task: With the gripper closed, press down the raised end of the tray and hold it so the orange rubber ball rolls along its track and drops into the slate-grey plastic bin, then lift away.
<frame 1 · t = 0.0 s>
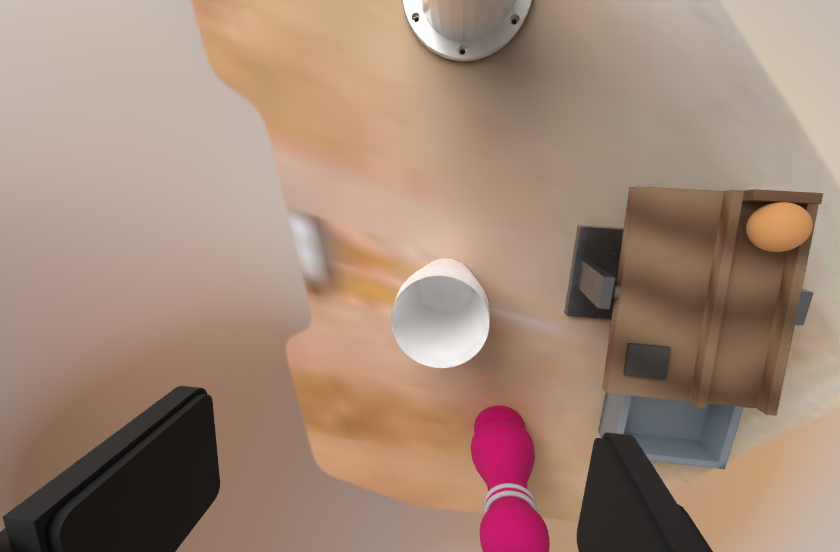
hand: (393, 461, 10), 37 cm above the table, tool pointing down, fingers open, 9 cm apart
tray: (706, 301, 35), point 9 cm above the table, hinge at -7.0°, touching ball
cup: (446, 285, 47), on the table
ball: (777, 227, 32), point 10 cm above the table, tilted 14°, touching tray
pepper mill: (499, 426, 51), on the table
stand: (657, 276, 44), on the table
bin: (660, 389, 47), on the table
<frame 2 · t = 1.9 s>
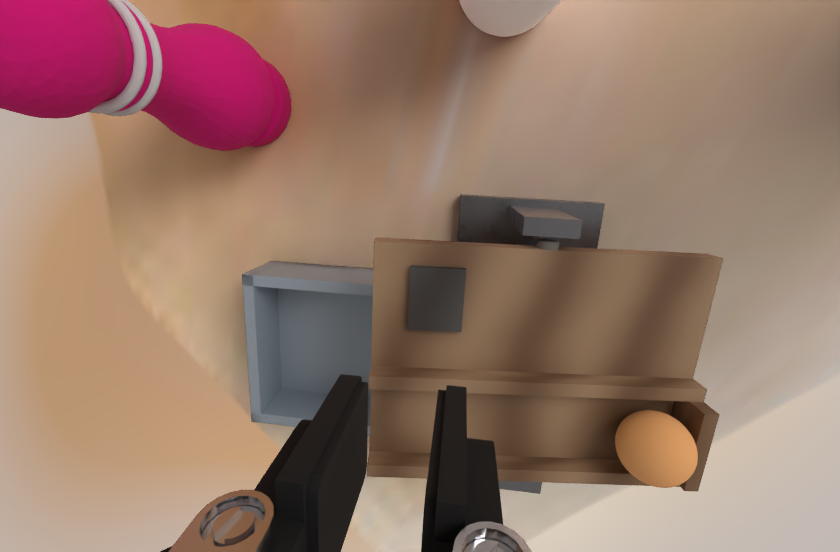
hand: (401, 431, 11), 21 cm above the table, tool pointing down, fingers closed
tray: (537, 372, 23), point 9 cm above the table, hinge at -7.0°, touching ball
ball: (654, 447, 22), point 10 cm above the table, tilted 14°, touching tray
pepper mill: (253, 103, 30), on the table
stand: (515, 316, 32), on the table
bin: (348, 335, 34), on the table
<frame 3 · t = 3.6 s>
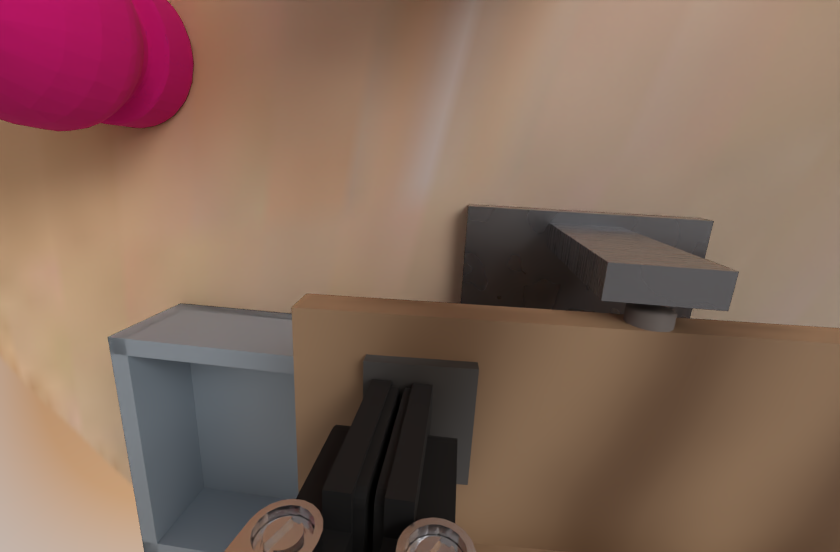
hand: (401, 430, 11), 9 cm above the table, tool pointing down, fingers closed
pepper mill: (136, 58, 19), on the table
stand: (552, 393, 20), on the table
bin: (299, 414, 22), on the table
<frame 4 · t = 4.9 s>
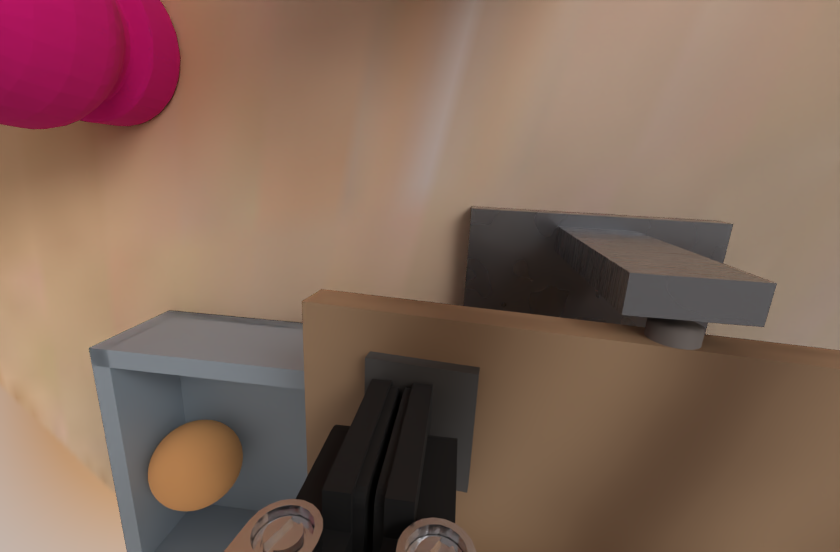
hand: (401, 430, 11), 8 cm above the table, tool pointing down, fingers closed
ball: (197, 463, 19), point 3 cm above the table, tilted 30°, touching bin
pepper mill: (119, 52, 18), on the table
stand: (560, 404, 19), on the table
bin: (294, 425, 21), on the table
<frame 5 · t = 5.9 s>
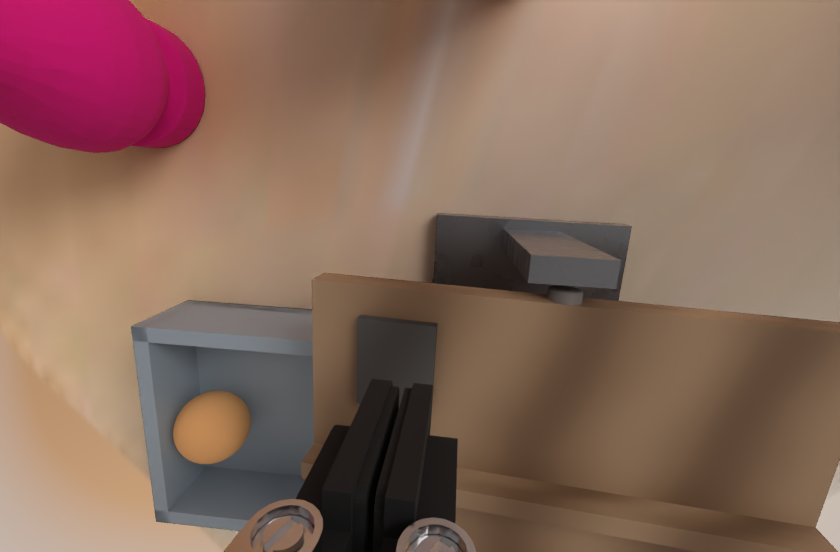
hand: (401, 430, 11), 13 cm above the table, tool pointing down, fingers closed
tray: (543, 486, 15), point 9 cm above the table, hinge at 5.6°
ball: (213, 426, 23), point 3 cm above the table, tilted 29°, touching bin
pepper mill: (154, 89, 22), on the table
stand: (511, 372, 24), on the table
bin: (293, 397, 25), on the table
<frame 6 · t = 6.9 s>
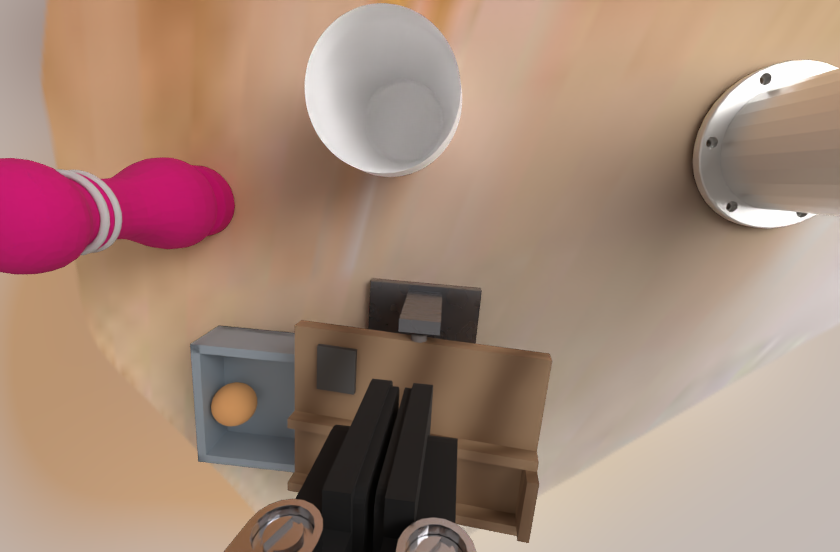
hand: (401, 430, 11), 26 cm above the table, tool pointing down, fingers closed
tray: (409, 431, 30), point 9 cm above the table, hinge at 5.6°
cup: (404, 122, 34), on the table
ball: (234, 403, 38), point 3 cm above the table, tilted 30°, touching bin
pepper mill: (203, 201, 36), on the table
stand: (418, 373, 39), on the table
bin: (284, 387, 40), on the table
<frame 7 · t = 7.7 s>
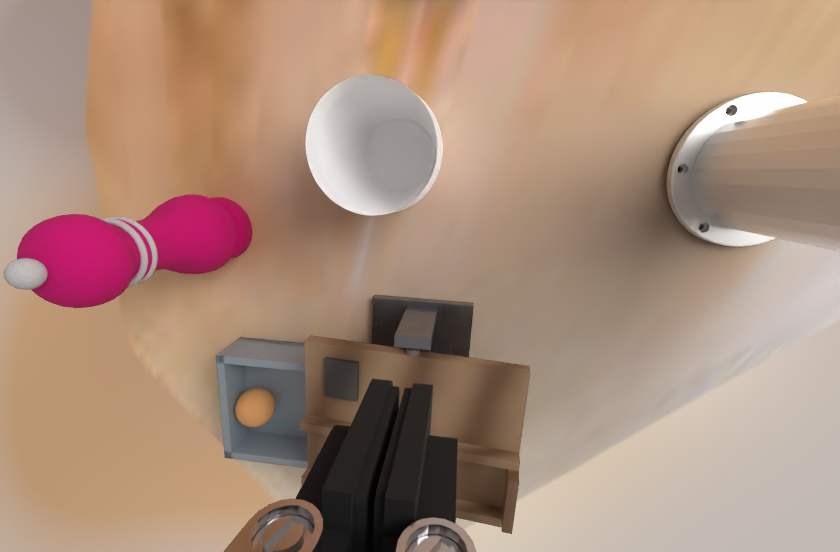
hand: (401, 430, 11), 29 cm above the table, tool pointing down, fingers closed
tray: (405, 434, 34), point 9 cm above the table, hinge at 5.6°
cup: (400, 155, 37), on the table
ball: (255, 407, 43), point 3 cm above the table, tilted 30°, touching bin
pepper mill: (224, 227, 41), on the table
stand: (419, 380, 43), on the table
bin: (298, 391, 45), on the table
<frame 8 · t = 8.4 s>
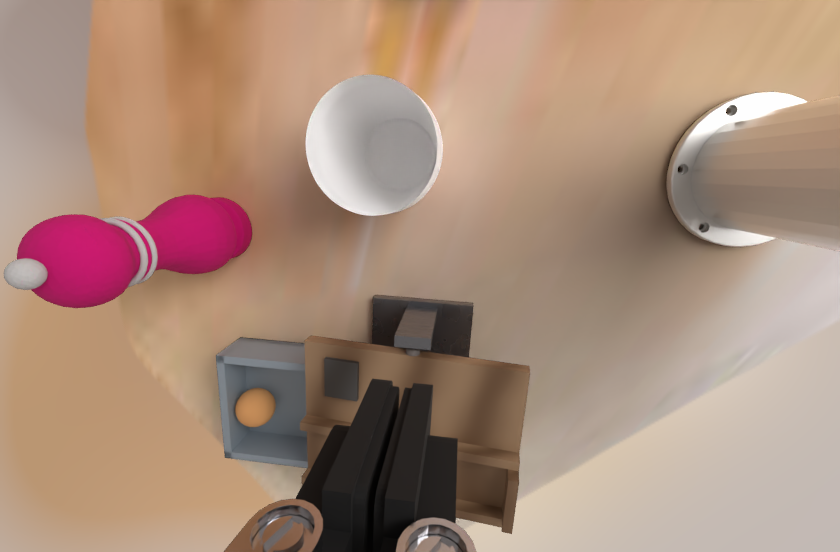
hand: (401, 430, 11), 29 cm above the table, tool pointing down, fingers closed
tray: (405, 434, 34), point 9 cm above the table, hinge at 5.6°
cup: (400, 155, 37), on the table
ball: (255, 407, 43), point 3 cm above the table, tilted 31°, touching bin
pepper mill: (224, 227, 41), on the table
stand: (419, 380, 43), on the table
bin: (298, 391, 45), on the table
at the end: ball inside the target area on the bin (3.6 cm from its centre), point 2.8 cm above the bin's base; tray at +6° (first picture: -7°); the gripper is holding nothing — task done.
